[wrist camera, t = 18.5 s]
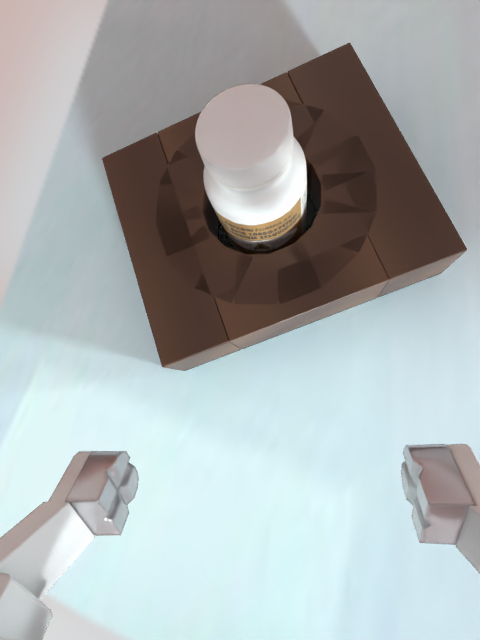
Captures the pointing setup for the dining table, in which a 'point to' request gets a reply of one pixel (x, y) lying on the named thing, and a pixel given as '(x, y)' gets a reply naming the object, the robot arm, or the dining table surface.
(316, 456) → the dining table surface
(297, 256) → the socket pad
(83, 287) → the dining table surface
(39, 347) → the dining table surface
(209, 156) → the pill bottle
